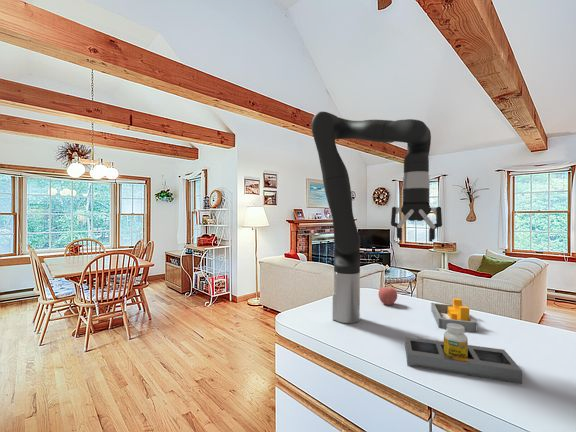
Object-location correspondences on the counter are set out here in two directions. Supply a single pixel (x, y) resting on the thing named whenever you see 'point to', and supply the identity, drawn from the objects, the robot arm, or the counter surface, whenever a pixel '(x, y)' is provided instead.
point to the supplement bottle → (455, 341)
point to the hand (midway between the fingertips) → (415, 240)
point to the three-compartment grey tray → (463, 360)
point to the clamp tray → (443, 322)
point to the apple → (387, 295)
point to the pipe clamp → (458, 311)
